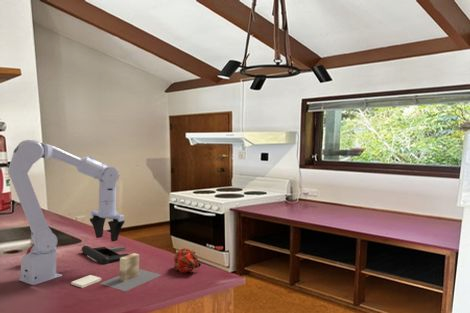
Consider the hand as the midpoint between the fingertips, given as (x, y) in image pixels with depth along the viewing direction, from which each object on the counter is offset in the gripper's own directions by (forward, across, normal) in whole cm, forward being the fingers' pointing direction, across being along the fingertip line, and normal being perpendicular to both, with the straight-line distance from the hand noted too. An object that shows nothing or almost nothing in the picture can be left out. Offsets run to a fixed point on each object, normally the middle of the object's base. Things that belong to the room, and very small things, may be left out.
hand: (106, 239), depth 125 cm
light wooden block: (+9, -15, +4) cm, 18 cm away
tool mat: (+10, -16, +4) cm, 20 cm away
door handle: (+11, +9, -9) cm, 17 cm away
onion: (+10, +22, +12) cm, 27 cm away
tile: (+9, -7, +14) cm, 18 cm away
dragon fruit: (+10, -26, -12) cm, 30 cm away
